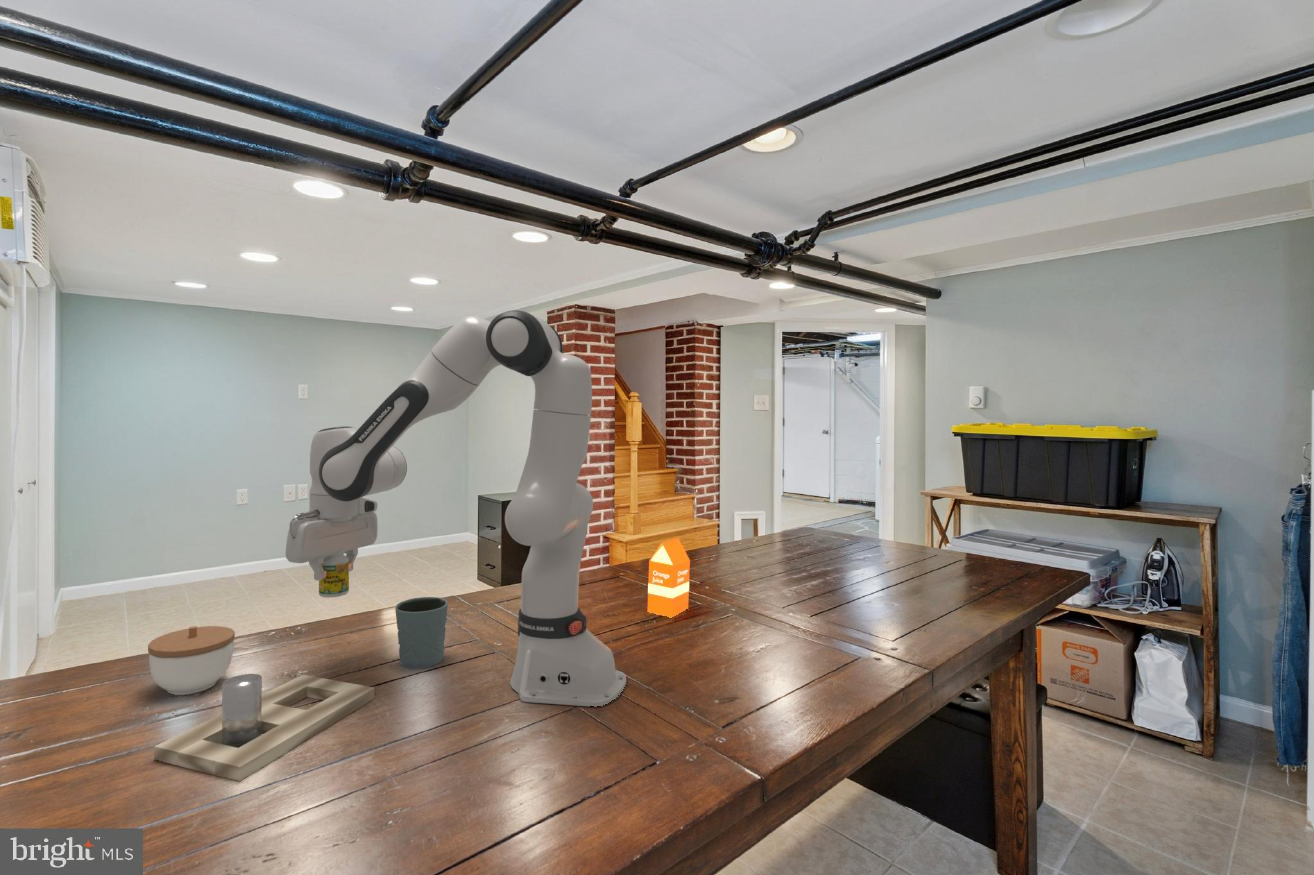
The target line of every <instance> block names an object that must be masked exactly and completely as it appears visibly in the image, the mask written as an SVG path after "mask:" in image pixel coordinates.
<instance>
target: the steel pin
mask: <svg viewBox="0 0 1314 875" xmlns="http://www.w3.org/2000/svg"><path fill="white" fill-rule="evenodd" d="M221 687H222V688H221V690H222V691H221V692H222V693H221V697H222V698H221V714H222V742H221V744H223V745H227V746H231V747H236V748H239V747H241V746H243V745H245V744H246V743H248V742H250V741H252V740H254V739H255V738H257V737H259V736H261V735H262V733H261V711H262V694H263V692H262V691H263V676H262V675H261V674H257V673H244V674H239V675H236V676H232V677H230V678H228V679H226V680H224V681H223V682H222V686H221Z"/></svg>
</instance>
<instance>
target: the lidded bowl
mask: <svg viewBox="0 0 1314 875" xmlns="http://www.w3.org/2000/svg"><path fill="white" fill-rule="evenodd" d="M235 636H236V633H235V630H234V629H233V628H230V627H227V626H220V625H219V626H218V625H216V626H215V625H211V626H210V625H207V626H194V625H193V626H189V627H188V628H185V629H180V630H176V631H172V632H169V633H165V634H163V635H160V636H158V637H156V638H154V639H153V640H151V641H150V642H149V643H148V646H147V653H148V664H149V670H150V671H149V672H150V675H151V677H152V679H153V681H154V683H156V684H157V686H159V687H160V688H162V689H163V690H166V691H167V694H169V693H171V694H174V695H173V696H186V695H193V694H199V693H201V692H204V691H206V690H209V689H211V688H212V687H214V686H215V685H216V684H217V681H218V680H220V678H222V677H223V676H224V674H225V673H226V672H227V670H228V669H229V667H230V664H231V662H232V658H233V654H234V648H235V647H234V645H235V644H234V641H235ZM171 694H170V695H171Z"/></svg>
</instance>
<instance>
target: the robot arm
mask: <svg viewBox="0 0 1314 875" xmlns="http://www.w3.org/2000/svg"><path fill="white" fill-rule="evenodd" d="M562 342H563V341H562V339H561V337H560V335H559V333H558V331H556V329H554V328H553V327H552V326H551V325H549V324H548V323H547V322H546V321H545V320H544V319H542V318H540V317H538V316H536V315H534V314H531V313H529V312H527V311H525V310H524V311H523V310H507V311H504V312H502V313H500V314H498V315H497V316H495V317H494V318H493V319H492V320H491V321H489V319H486V318H485V317H481V316H478V315H467V316H464V317H463V318H461V319H460V320H458V322H456V323H455V324H454V325H453V326H452V327H451V328H450V329H449V330H447V332H445V334H444V335H443V336H441V338H440V339H439V340H437V342H436V344H434V346H433V347H432V349H431V350H429V352H428V353H427V355H426V356H425V357H424V358H423V360H422V361H421V362H420V363H419V364H418V366H417V367H416V368H415V369H414V370H413V371H412V372H411V374H410V375H409V376H408V377H407V378H405V380H404V381H403V382H401V384H400V385H398V387H397V388H396V389H395V390H394V391H393V392H392V393H391V394H390V395H388V397H386V399H384V401H383V402H382V403H381V404H379V406H378V407H377V408H376V409H375V410H374V412H373V413H372V414H371V415H369V417H368V418H367V419H366V420H365V421H364V422H363V423H362V424H361V426H359V428H355V427H353V426H337V427H336V426H334V427H329V428H324V429H320V430H319V431H317V432H316V433H315V434H314V435H313V438H312V441H311V444H310V445H311V446H310V453H309V473H310V476H311V487H310V488H309V489H310V490H309V511H306V512H299V513H297V514H296V515H295V516H294V517H293V518H292V519H291V520H290V521H289V527H288V528H289V529H288V531H287V532H288V533H287V538H286V544H285V558H286V560H287V562H290V563H293V564H295V563H296V564H305V563H308V564H309V566H310V568H311V569H312V571H313V574H314V575H313V579H314V580H315V581H318V582H319V581H320V580H323V579H326V578H327V570H324V569H323V567H322V565H321V563H323V558H324V557H327V556H331V555H335V554H337V553H338V551H339V549H340V548H344V551H345V553H344V555H345V554H346V555H345V556H347V557H348V559H349V572H352V571H353V570H354V562H355V561H356V558H357V556H358V554H359V549H360V548H364V547H367V546H371V545H374V544H375V543H376V541H377V539H378V527H379V526H378V516H377V513H376V511H378V502H377V501H376V500H372V499H367V498H364V497H366V496H370V495H374V494H380V493H383V492H388V491H389V490H392V489H394V488H397V487H399V486H400V485H401V484H402V483H403V481H404V480H405V478H406V475H407V472H408V464H407V459H406V458H405V455H404V453H403V452H402V451H401V450H400V449H399V448H397V447H395V446H394V445H395V444H396V443H397V442H398V440H400V439H401V437H402V436H403V435H404V434H405V432H406V431H408V430H409V429H410V428H412V426H415V424H417V423H419V422H420V421H423V420H425V419H427V418H430V417H432V416H436V415H439V414H442V413H446V412H449V411H453V410H455V409H457V408H458V407H459V406H460V405H462V404H463V403H464V402H465V401H466V400H468V399H469V398H470V397H471V396H472V395H473V393H474V392H475V391H476V389H477V388H478V387H479V386H480V385H481V384H482V382H483V381H484V380H485V379H486V377H487V376H488V374H490V372H491V371H492V370H494V369H495V368H496V367H498V366H500V365H501V366H503V367H505V368H507V369H508V370H511V371H514V372H517V373H519V374H521V375H522V376H523V375H524V376H526V377H530V378H531V380H532V381H533V384H534V402H533V410H532V412H533V413H532V422H531V429H530V440H529V447H528V452H527V456H526V460H525V463H524V467H523V470H522V473H521V475H520V479H519V483H518V486H517V489H516V492H515V494H514V495H513V498H512V499H511V501H510V502H509V504H508V505H507V507H506V510H505V513H504V524H505V528H506V531H507V533H508V534H509V536H510V537H511V538H512V539H513V540H514V541H515V542H517V543H518V544H520V545H523V546H526V547H527V546H528V547H530V548H529V553H528V555H527V558H526V561H525V563H524V565H523V568H522V571H521V591H520V592H521V594H520V596H521V597H520V608H519V610H518V619H517V634H518V635H517V636H518V643H517V645H518V646H517V653H516V656H515V657H516V658H515V663H514V664H515V665H514V667H513V671H512V675H511V678H510V681H509V684H510V686H511V688H512V689H513V690H514V691H515V692H516V693H518V696H519V699H520V701H522V702H523V703H535V704H550V705H551V704H552V705H565V706H577V707H590V706H594V708H598V707H597V706H601V707H604V706H606V705H605V704H607V705H609V704H610V703H609V702H611V701H612V700H614V699H615V700H616V699H617V698H619V696H620V695H621V694H622V693H623V692H624V690H625V688H626V686H627V676H626V673H624V672H623V671H619V670H617V669H616V665H615V664H616V663H615V659H614V654H613V651H612V649H611V648H610V647H608V646H607V645H606V644H605V643H604V642H603V641H601V640H600V639H599V638H597V636H596V635H595V634H593V633H592V632H591V631H590V630H589V629H587V625H588V624H587V621H589V619H590V612H588V613H586V614H584V613H583V612H582V611H581V609H580V608H579V594H580V593H579V592H580V591H579V590H580V572H581V563H582V558H583V553H584V549H585V548H584V547H585V543H586V538H587V532H588V526H589V521H590V518H591V515H592V513H593V509H594V500H593V496H592V494H591V493H590V491H589V489H587V488H586V486H584V485H582V484H581V483H578V479H579V475H580V472H581V469H582V466H583V464H584V461H585V460H586V457H587V455H588V448H589V439H590V429H591V419H592V418H591V417H592V416H591V415H592V408H593V384H592V373H591V372H592V371H591V369H590V366H589V365H588V363H587V362H586V361H585V360H584V359H582V358H581V357H578V356H575V355H573V354H565V353H563V352H564V348H563V347H564V346H563V343H562ZM625 685H626V686H625ZM624 687H625V688H624ZM623 689H624V690H623ZM622 691H623V692H622ZM621 692H622V693H621ZM620 693H621V694H620ZM618 695H619V696H618ZM616 697H617V698H616ZM615 700H614V701H615ZM612 702H613V701H612ZM612 702H611V703H612ZM608 703H609V704H608ZM603 705H604V706H603Z"/></svg>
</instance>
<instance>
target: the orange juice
mask: <svg viewBox="0 0 1314 875" xmlns="http://www.w3.org/2000/svg"><path fill="white" fill-rule="evenodd" d="M690 565H691V559H690V558H689V556H688V554H687V552H686V549H685V548H684V546H683V544H682V542H681V540H680V538H679V537H676V538H672V539H669V540H666V541H663V542H661V543H660V545H659V546H658V547H657V549H656V551H655V552H654V553H653V555H652V556H651V557H650V559H649V562H648V583H647V584H648V585H647V612H649V613H654V614H656V615H662V616H667V617H669V618H672V617H674V616H676V615H678V614H679V613H681V612H683V611H685V610H686V609H688V610H689V596H690V594H689V593H690V570H691V569H690V567H691V566H690Z"/></svg>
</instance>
